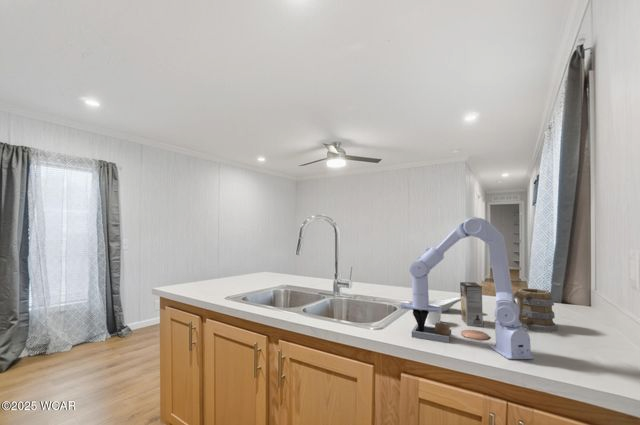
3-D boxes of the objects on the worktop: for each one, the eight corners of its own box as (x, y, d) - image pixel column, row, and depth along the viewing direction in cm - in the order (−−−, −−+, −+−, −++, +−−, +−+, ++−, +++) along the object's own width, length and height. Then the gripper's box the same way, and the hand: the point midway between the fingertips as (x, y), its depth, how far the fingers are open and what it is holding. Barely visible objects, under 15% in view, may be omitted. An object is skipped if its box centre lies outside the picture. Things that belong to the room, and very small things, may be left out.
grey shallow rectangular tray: (451, 334, 108) (451, 329, 108) (449, 343, 100) (448, 337, 101) (416, 329, 114) (416, 324, 114) (411, 337, 106) (411, 331, 106)
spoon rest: (424, 312, 139) (424, 297, 140) (426, 306, 150) (425, 292, 151) (481, 317, 130) (480, 301, 131) (478, 311, 141) (477, 295, 142)
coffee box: (460, 319, 128) (459, 281, 129) (476, 319, 126) (475, 282, 127) (466, 325, 119) (465, 285, 120) (484, 326, 117) (482, 286, 118)
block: (450, 337, 106) (449, 324, 107) (448, 341, 102) (448, 327, 103) (436, 335, 109) (436, 322, 109) (435, 339, 105) (434, 326, 105)
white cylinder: (423, 323, 122) (422, 306, 122) (425, 319, 128) (425, 302, 128) (440, 325, 119) (440, 308, 119) (442, 321, 125) (442, 304, 125)
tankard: (531, 319, 126) (529, 284, 127) (564, 328, 114) (561, 289, 115) (497, 325, 119) (495, 287, 120) (528, 335, 107) (526, 293, 108)
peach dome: (494, 339, 103) (494, 338, 103) (468, 340, 103) (468, 338, 103) (480, 331, 112) (479, 329, 112) (456, 331, 112) (456, 329, 112)
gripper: (442, 293, 110) (443, 330, 109) (403, 289, 117) (404, 324, 116) (440, 297, 104) (441, 336, 103) (398, 293, 111) (399, 330, 110)
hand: (421, 330), depth 109 cm, fingers closed
